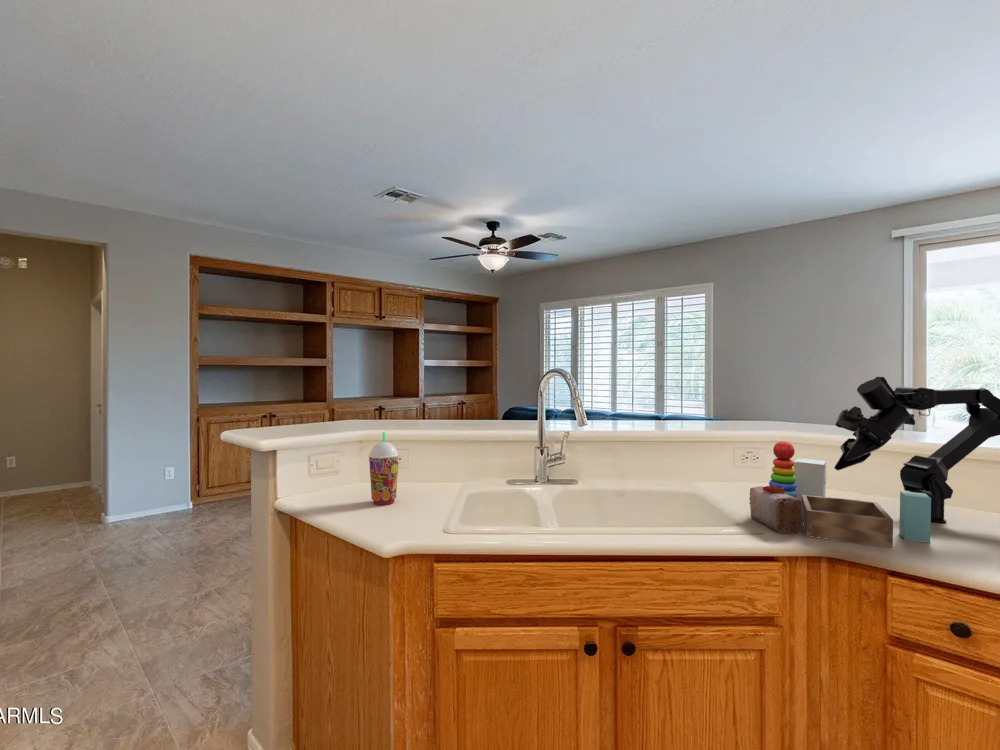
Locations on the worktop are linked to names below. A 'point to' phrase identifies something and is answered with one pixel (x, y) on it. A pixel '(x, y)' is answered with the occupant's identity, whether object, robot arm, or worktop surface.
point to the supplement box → (810, 477)
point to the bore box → (847, 520)
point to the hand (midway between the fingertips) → (841, 464)
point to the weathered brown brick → (776, 509)
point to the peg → (915, 516)
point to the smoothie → (383, 472)
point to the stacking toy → (784, 468)
